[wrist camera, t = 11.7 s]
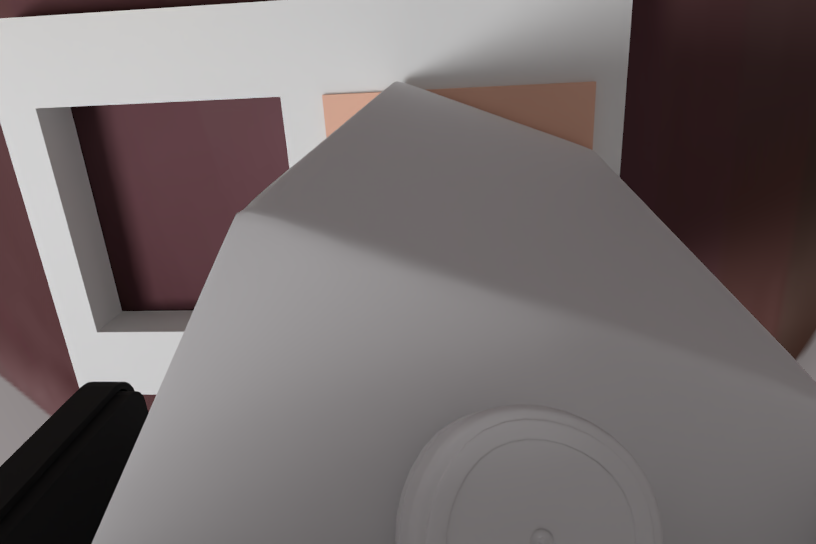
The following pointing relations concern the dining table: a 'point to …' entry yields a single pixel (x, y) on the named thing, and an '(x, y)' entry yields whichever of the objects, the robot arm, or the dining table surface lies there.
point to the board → (301, 106)
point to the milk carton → (466, 361)
